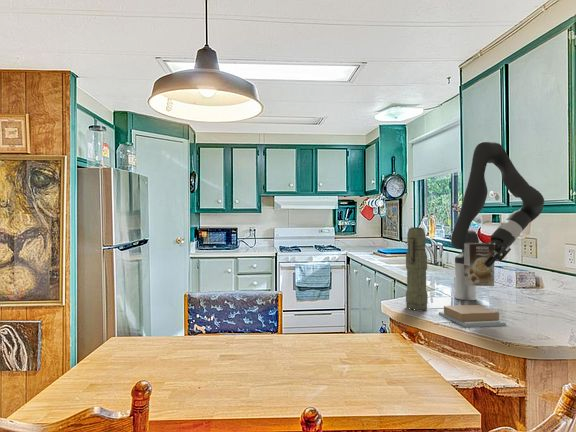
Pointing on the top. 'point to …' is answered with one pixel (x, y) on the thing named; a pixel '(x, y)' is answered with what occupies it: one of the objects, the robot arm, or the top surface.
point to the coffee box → (478, 264)
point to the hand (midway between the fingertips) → (479, 264)
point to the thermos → (416, 269)
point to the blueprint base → (472, 315)
